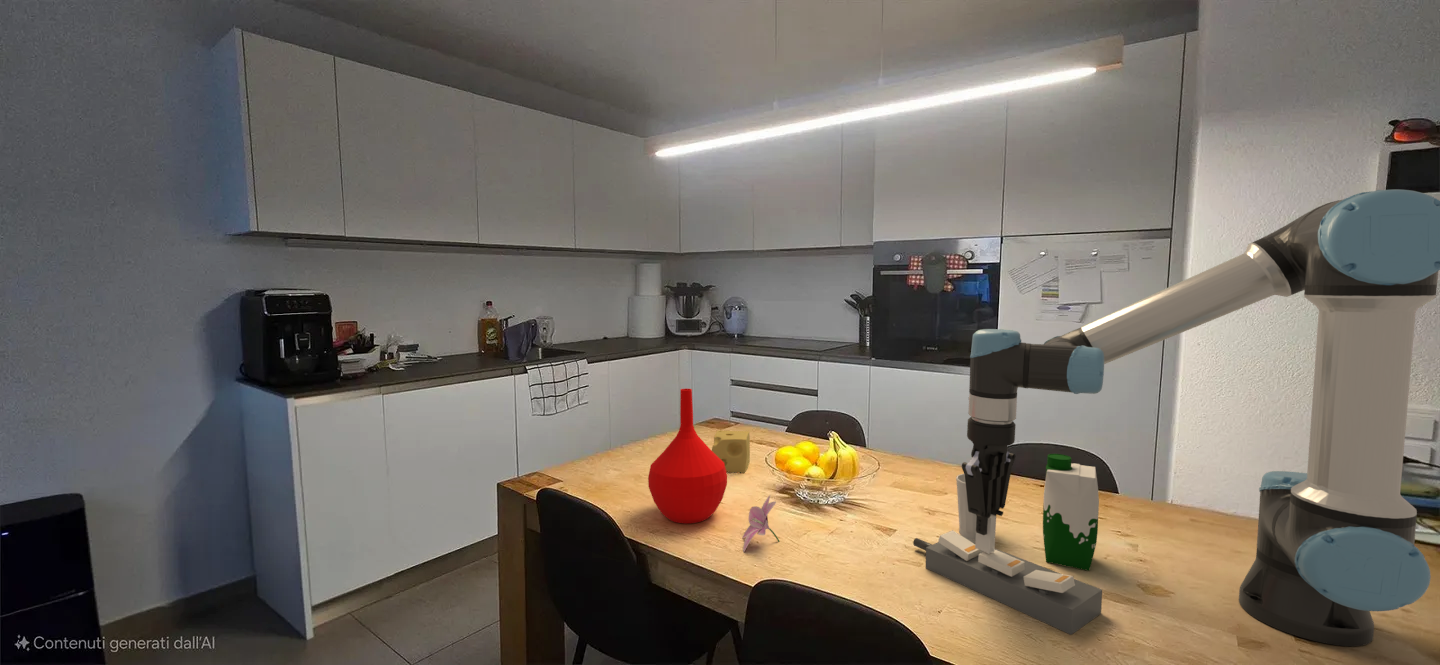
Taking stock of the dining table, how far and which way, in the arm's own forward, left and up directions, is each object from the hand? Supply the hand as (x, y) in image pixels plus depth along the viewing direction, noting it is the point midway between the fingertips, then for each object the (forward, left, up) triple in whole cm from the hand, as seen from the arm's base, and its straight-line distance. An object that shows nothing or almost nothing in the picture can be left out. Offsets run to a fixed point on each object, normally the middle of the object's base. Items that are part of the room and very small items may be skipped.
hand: (984, 549), depth 104 cm
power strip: (0, -2, -7) cm, 7 cm away
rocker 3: (-11, 0, -1) cm, 11 cm away
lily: (+37, +21, -7) cm, 43 cm away
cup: (+13, -18, -7) cm, 23 cm away
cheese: (+81, -3, -7) cm, 81 cm away
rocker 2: (-3, 0, -1) cm, 3 cm away
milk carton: (-4, -22, -7) cm, 23 cm away
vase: (+58, +26, -7) cm, 64 cm away
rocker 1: (+5, 0, -1) cm, 5 cm away
